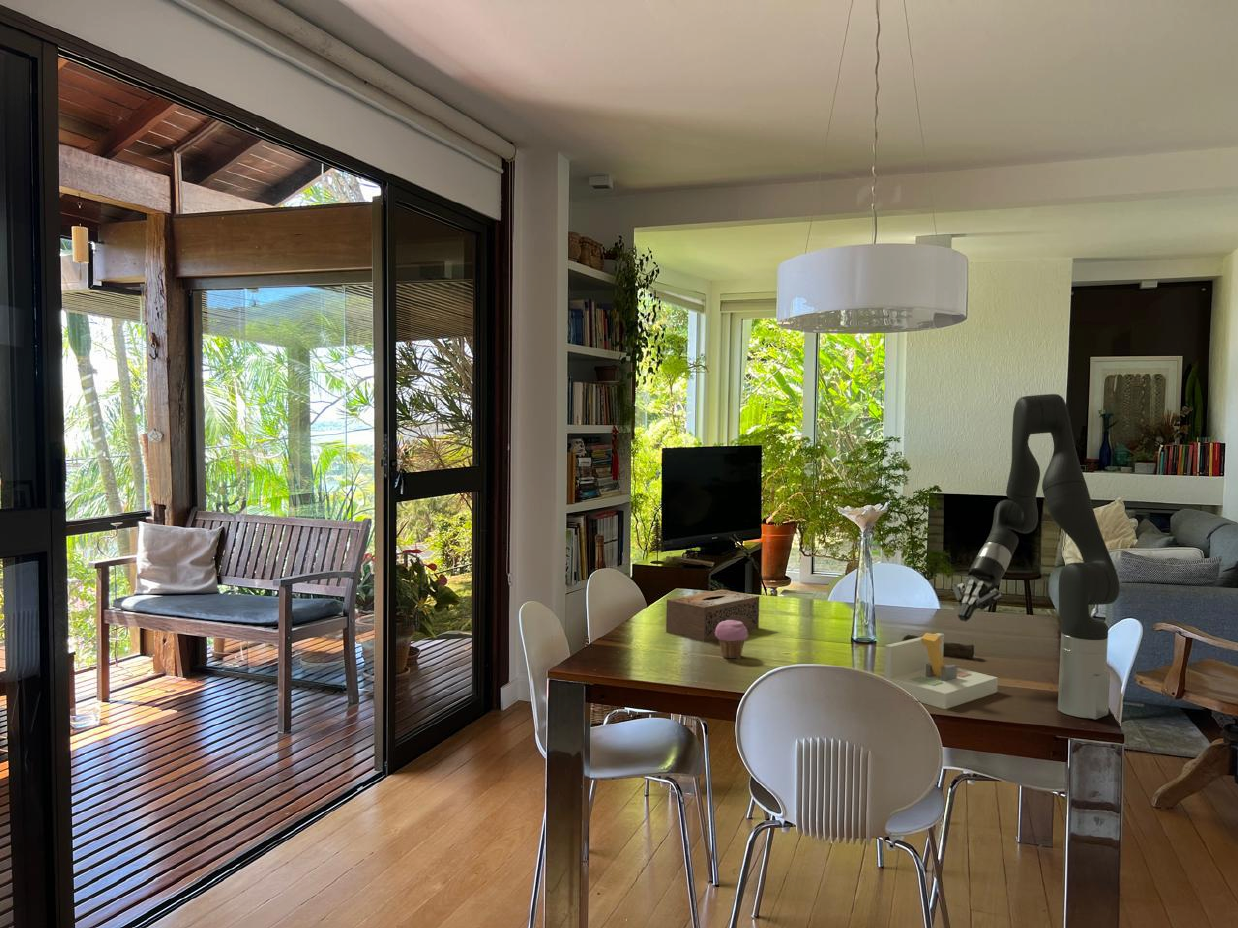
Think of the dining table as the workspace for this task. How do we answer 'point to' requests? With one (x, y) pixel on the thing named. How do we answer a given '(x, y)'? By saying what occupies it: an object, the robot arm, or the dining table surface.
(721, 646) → the cupcake
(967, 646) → the hand tool
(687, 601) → the tissue box cover
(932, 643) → the lever
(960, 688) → the white switch base
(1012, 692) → the dining table surface
